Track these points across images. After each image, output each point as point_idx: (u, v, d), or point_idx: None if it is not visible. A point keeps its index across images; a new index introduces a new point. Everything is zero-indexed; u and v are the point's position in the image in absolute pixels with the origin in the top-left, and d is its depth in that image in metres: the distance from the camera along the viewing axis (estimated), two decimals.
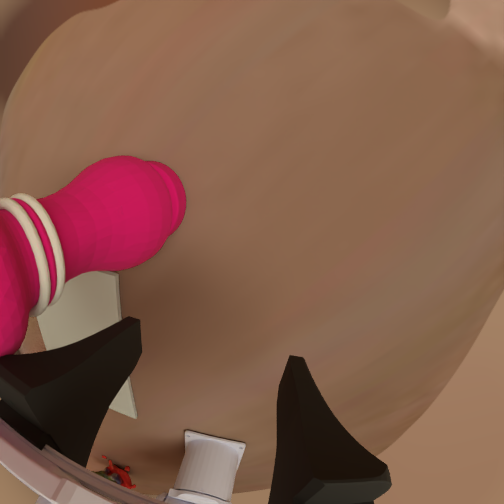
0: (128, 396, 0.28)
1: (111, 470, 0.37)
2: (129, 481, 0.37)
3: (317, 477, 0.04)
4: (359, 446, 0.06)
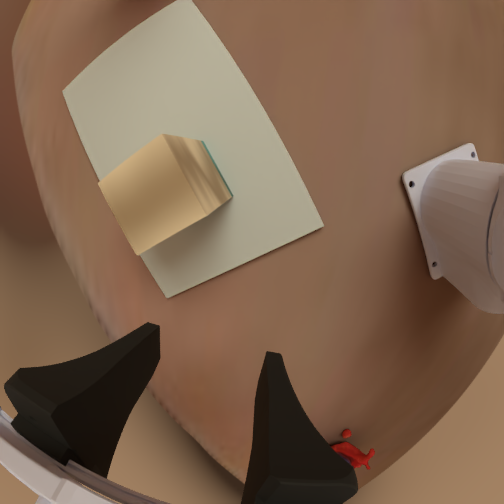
0: (287, 162, 0.18)
1: None
2: (359, 452, 0.25)
3: (273, 474, 0.04)
4: (326, 446, 0.06)
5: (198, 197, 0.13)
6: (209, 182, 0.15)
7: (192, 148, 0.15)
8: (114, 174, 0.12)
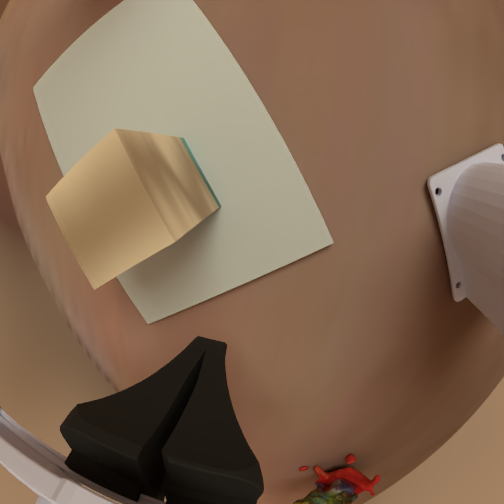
0: (288, 163, 0.14)
1: (326, 481, 0.22)
2: (363, 478, 0.21)
3: (163, 451, 0.05)
4: (238, 436, 0.06)
5: (163, 215, 0.09)
6: (185, 190, 0.11)
7: (164, 147, 0.11)
8: (61, 185, 0.09)
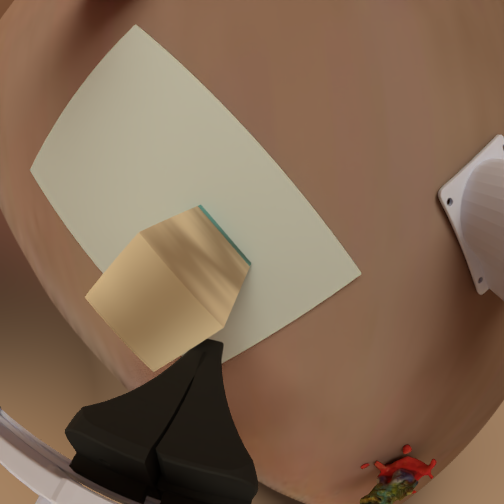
0: (307, 211, 0.15)
1: (387, 473, 0.22)
2: (421, 464, 0.20)
3: (158, 449, 0.05)
4: (233, 435, 0.06)
5: (207, 305, 0.10)
6: (218, 266, 0.12)
7: (187, 227, 0.12)
8: (99, 287, 0.10)
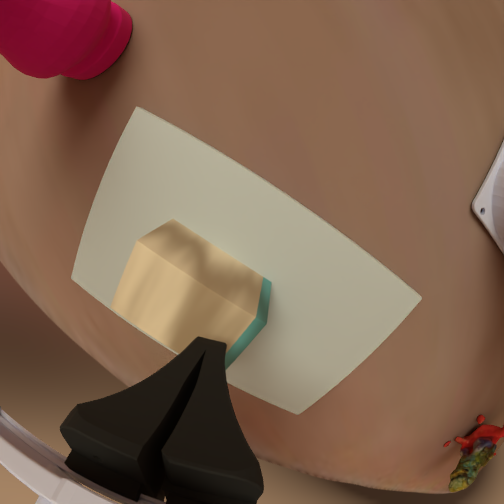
0: (369, 262, 0.15)
1: (468, 445, 0.19)
2: (495, 428, 0.18)
3: (164, 451, 0.05)
4: (238, 436, 0.06)
5: (150, 237, 0.13)
6: (203, 266, 0.13)
7: (219, 254, 0.16)
8: None
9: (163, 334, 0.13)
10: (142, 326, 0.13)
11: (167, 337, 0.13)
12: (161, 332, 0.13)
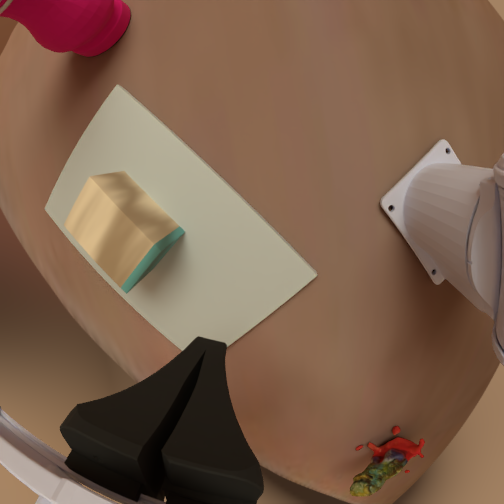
0: (266, 230, 0.20)
1: (380, 454, 0.26)
2: (411, 444, 0.24)
3: (163, 451, 0.05)
4: (238, 436, 0.06)
5: (100, 177, 0.16)
6: (130, 203, 0.17)
7: (148, 201, 0.19)
8: None
9: (93, 250, 0.17)
10: (81, 242, 0.17)
11: (95, 253, 0.17)
12: (92, 248, 0.17)
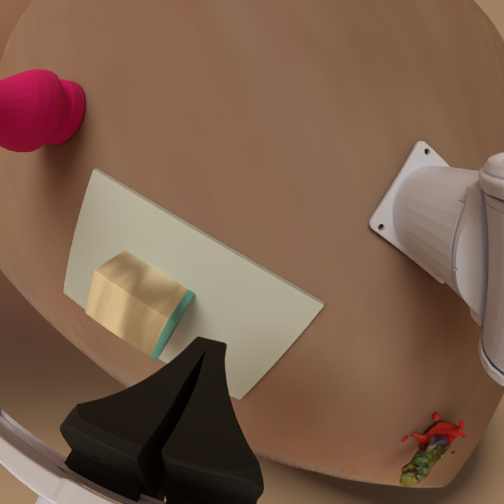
0: (266, 277, 0.21)
1: (425, 441, 0.24)
2: (452, 426, 0.23)
3: (163, 451, 0.05)
4: (238, 436, 0.06)
5: (104, 266, 0.18)
6: (138, 284, 0.19)
7: (154, 274, 0.21)
8: None
9: (118, 330, 0.19)
10: (105, 325, 0.19)
11: (120, 332, 0.19)
12: (116, 329, 0.19)
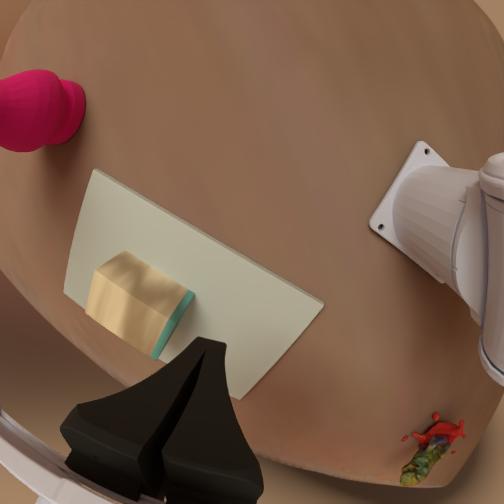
0: (266, 277, 0.21)
1: (425, 441, 0.24)
2: (452, 426, 0.23)
3: (163, 451, 0.05)
4: (238, 436, 0.06)
5: (104, 266, 0.18)
6: (138, 284, 0.19)
7: (154, 274, 0.21)
8: None
9: (118, 330, 0.19)
10: (105, 325, 0.19)
11: (120, 332, 0.19)
12: (116, 329, 0.19)
